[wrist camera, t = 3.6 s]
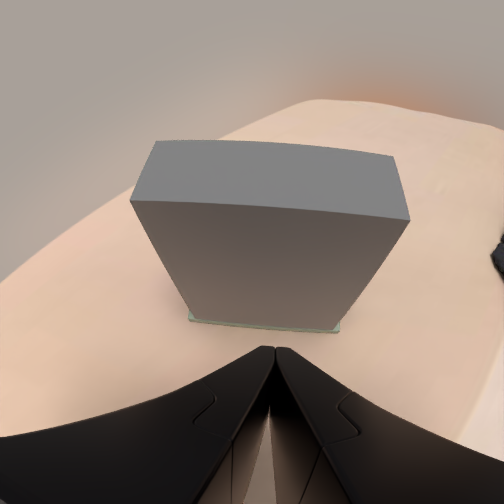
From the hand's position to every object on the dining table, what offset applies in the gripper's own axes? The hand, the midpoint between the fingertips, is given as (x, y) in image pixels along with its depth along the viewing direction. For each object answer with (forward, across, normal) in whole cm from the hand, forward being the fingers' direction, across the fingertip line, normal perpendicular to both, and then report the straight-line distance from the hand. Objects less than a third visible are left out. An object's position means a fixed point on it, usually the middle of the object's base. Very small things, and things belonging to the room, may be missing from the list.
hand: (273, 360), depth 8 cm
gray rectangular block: (+11, -1, -3) cm, 12 cm away
